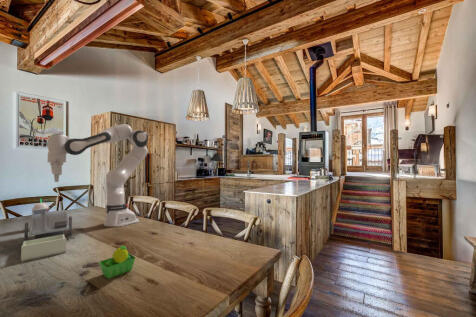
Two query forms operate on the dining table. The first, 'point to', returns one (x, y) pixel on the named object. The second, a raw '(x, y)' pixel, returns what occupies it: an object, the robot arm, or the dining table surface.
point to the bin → (43, 247)
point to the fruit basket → (117, 263)
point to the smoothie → (41, 206)
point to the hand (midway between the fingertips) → (56, 181)
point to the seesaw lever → (47, 221)
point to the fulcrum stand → (48, 233)
